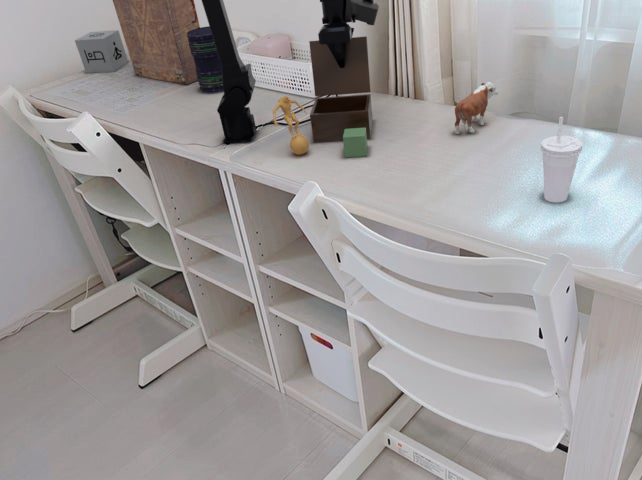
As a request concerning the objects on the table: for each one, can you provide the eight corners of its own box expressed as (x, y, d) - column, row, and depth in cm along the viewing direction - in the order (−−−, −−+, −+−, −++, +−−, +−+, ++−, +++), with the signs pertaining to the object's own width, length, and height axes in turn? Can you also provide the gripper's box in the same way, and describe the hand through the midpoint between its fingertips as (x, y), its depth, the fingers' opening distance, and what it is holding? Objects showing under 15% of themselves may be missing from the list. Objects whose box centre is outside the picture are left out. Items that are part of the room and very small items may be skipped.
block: (345, 157, 124) (342, 137, 122) (346, 148, 128) (344, 128, 125) (366, 156, 124) (364, 135, 121) (367, 147, 127) (365, 127, 125)
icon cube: (86, 72, 197) (74, 40, 191) (101, 63, 205) (90, 31, 198) (114, 71, 195) (103, 38, 189) (128, 62, 203) (118, 30, 197)
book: (135, 75, 189) (101, -34, 171) (159, 66, 194) (129, -40, 176) (187, 85, 175) (157, -32, 157) (211, 75, 181) (184, -39, 163)
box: (370, 139, 131) (368, 110, 127) (313, 142, 132) (309, 114, 129) (372, 121, 139) (370, 93, 135) (319, 124, 141) (315, 97, 137)
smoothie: (530, 191, 106) (537, 112, 97) (567, 186, 106) (577, 107, 97) (543, 208, 101) (551, 126, 92) (581, 203, 101) (593, 121, 92)
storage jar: (218, 79, 176) (203, 13, 166) (242, 83, 171) (228, 14, 160) (192, 91, 170) (175, 22, 159) (217, 95, 165) (200, 24, 154)
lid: (366, 36, 130) (366, 36, 130) (309, 41, 131) (309, 41, 132) (370, 92, 135) (370, 91, 135) (315, 96, 136) (315, 95, 137)
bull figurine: (500, 118, 133) (502, 80, 128) (464, 139, 126) (465, 100, 121) (483, 114, 136) (484, 77, 131) (447, 135, 128) (447, 96, 123)
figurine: (292, 163, 125) (282, 105, 118) (273, 156, 128) (262, 100, 121) (321, 148, 129) (313, 92, 122) (302, 142, 133) (294, 87, 126)
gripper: (372, -7, 113) (378, 78, 122) (376, -26, 128) (381, 52, 137) (313, -2, 114) (323, 82, 124) (323, -21, 129) (332, 56, 138)
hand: (342, 67), depth 131 cm, fingers closed
